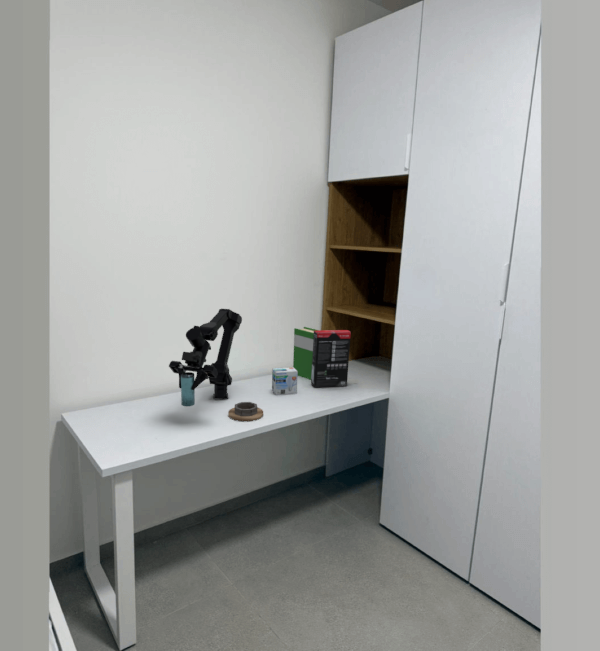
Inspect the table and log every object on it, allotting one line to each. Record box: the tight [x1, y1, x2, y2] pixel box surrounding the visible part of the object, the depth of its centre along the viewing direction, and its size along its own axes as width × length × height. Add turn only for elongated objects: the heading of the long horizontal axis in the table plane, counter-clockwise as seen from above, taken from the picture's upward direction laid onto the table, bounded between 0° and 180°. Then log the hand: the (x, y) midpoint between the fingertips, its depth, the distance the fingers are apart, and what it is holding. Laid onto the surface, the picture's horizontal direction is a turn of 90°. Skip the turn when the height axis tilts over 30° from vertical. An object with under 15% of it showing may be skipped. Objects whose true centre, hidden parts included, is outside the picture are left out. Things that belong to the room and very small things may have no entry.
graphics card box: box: [310, 329, 352, 388], centre depth 240 cm, size 17×7×27 cm, turn 105°
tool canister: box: [180, 371, 196, 407], centre depth 192 cm, size 5×5×12 cm
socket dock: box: [227, 401, 264, 422], centre depth 202 cm, size 14×14×4 cm
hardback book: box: [292, 326, 317, 381], centre depth 254 cm, size 18×7×24 cm, turn 42°
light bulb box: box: [271, 366, 298, 396], centre depth 230 cm, size 11×7×11 cm, turn 108°
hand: (186, 388), depth 190 cm, fingers closed on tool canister, 5 cm apart
